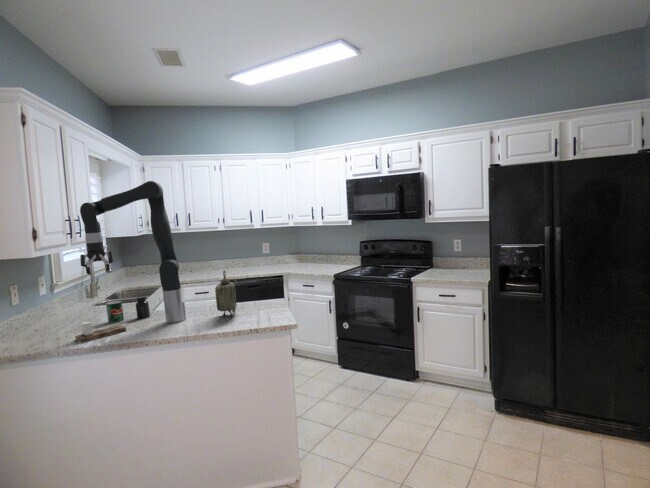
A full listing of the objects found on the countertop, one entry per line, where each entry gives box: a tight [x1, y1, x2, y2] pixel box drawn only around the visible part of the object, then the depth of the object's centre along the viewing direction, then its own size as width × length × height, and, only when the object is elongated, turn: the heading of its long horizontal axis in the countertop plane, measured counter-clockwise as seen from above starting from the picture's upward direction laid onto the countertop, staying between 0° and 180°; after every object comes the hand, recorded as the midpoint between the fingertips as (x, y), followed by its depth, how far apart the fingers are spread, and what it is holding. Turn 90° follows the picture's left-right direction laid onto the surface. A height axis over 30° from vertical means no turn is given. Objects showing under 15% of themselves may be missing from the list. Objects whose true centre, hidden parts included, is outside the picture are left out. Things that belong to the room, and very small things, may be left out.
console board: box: [74, 324, 127, 344], centre depth 191 cm, size 20×9×2 cm, turn 138°
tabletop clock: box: [214, 269, 238, 319], centre depth 209 cm, size 14×9×25 cm, turn 9°
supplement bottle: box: [135, 295, 151, 320], centre depth 221 cm, size 7×7×12 cm
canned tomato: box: [105, 300, 125, 324], centre depth 217 cm, size 8×8×11 cm
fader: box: [80, 321, 94, 336], centre depth 186 cm, size 3×7×6 cm, turn 48°
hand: (98, 272), depth 198 cm, fingers open, 8 cm apart
